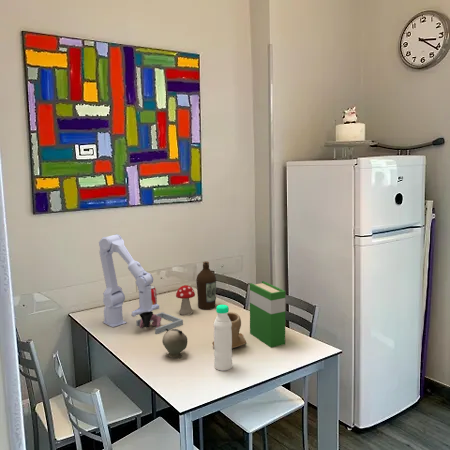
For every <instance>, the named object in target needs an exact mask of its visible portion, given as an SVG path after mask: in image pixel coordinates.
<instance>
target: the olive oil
mask: <svg viewBox="0 0 450 450" xmlns="http://www.w3.org/2000/svg"><path fill="white" fill-rule="evenodd" d="M195 281H196V291H197V292H196V293H197V294H196V295H197V307H198V309H199V310H204V311H209V310H213V309H216V307H217V306H216V300H217V294H216V293H217V277H216V275H215V273H214V272H213V271H212V270H211V269H210V262H209V261H205V260H204V261H202V270H200V271H199V273H198V274H197V275H196V280H195Z"/></svg>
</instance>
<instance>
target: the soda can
mask: <svg viewBox="0 0 450 450" xmlns="http://www.w3.org/2000/svg"><path fill="white" fill-rule="evenodd" d="M157 295H158V294H157V289H156V286H155V285H151V300H152V305H155V304H158V297H157Z"/></svg>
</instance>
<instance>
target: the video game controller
mask: <svg viewBox="0 0 450 450" xmlns="http://www.w3.org/2000/svg"><path fill="white" fill-rule="evenodd" d="M155 314H156V313H153V315H152V317H151V320H154V321H151V322H150V323H149V326H151V325H152V327H156V328H158V327H161V322H162V318H161V317H160V316H158V315H155ZM140 319H141V318H140ZM139 327H140V328H143V327H144V324H143V321H142V319H141V322H140V325H139Z"/></svg>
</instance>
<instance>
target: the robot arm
mask: <svg viewBox="0 0 450 450" xmlns="http://www.w3.org/2000/svg"><path fill="white" fill-rule="evenodd" d="M98 246H99V257H100V262H101V263H100V264H101V268H102V271H103V272H102V273H103V276H104V282H105V286H106V287H105V289H104V292H103V293H102V294H103V299H102V302H103V305H104V309H103V321H102V323H103V324H105V325H107V326H109V327H112V328H115V327H118V326H122V325H124V324H127V321H125V320H124V318H123V317H124V316H123V305H124V302H125V300H126V297H125V293H124V292H123V289H122V287H120V286H119V285H118V279H117V275H116V274H117V273H116V269H115V264H114V260H113V254H114V253H117V254H118V255H119V256H120V257H121V258H122V260H123V261H124V262H125V263H126V265H127V269H128V271H129V272H130V274H131V275H132V276H133V277H134V279H135V285H136V287H137V290H138V302H139V307H138V308H137V309H135V310H133V311H131V316H132V317H137V316H138V315H139V317H140V319H142V321H143V324H144V325H143V327H144V328H149V327H150V325H149V323H151V322H150V320H151V317H152V315H153V314H154V310H160V304H158V303H157V304H155V305H152V300H151V286H152V284H153V283H154V277H153V275H152V274H151V273H150V272H148V271H146V270H145V269H144V267H143V266H142V264H141V262H139V261H138V260H135V259H134V258H133V256H132V255H131V253H130V252H129V250H128V248H127V246H125V240H124V239H123V238H122V236H121V235H120V234H117V233H116V234H113V235H108V236H103V237H102V238H101V239H100V240H99V241H98Z"/></svg>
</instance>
